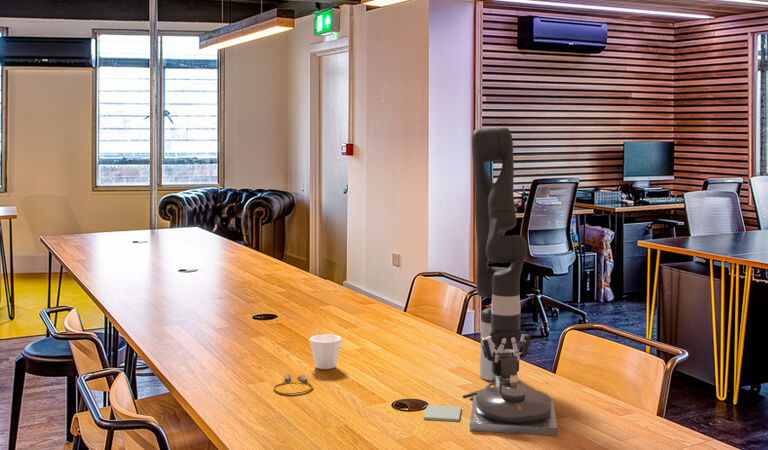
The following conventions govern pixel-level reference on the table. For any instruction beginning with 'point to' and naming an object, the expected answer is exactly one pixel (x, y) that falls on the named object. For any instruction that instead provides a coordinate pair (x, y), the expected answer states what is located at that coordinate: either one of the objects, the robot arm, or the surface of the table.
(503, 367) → the block
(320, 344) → the cup
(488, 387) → the pliers
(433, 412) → the mat
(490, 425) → the drill stand
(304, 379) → the olive earphones
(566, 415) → the table surface
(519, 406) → the chuck collar
